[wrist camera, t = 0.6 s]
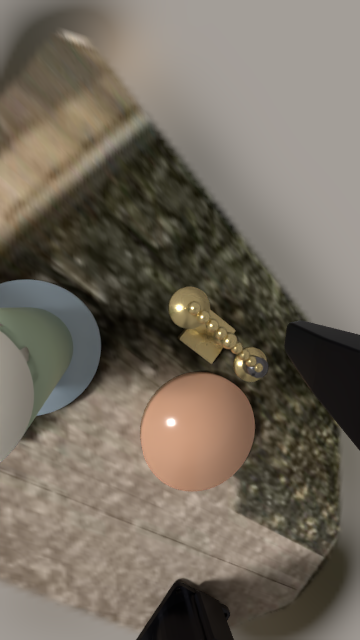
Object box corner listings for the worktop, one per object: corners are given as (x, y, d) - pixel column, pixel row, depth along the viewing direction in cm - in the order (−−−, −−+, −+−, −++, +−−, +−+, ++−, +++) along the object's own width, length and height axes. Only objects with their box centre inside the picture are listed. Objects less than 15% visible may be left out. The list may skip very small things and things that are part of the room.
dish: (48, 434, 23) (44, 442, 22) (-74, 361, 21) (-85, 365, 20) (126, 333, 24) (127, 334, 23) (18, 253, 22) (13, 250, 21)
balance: (236, 383, 27) (279, 410, 20) (146, 314, 24) (160, 317, 18) (258, 351, 27) (309, 366, 20) (171, 280, 25) (196, 270, 18)
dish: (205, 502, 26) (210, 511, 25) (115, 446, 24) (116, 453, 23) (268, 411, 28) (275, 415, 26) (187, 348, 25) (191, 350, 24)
